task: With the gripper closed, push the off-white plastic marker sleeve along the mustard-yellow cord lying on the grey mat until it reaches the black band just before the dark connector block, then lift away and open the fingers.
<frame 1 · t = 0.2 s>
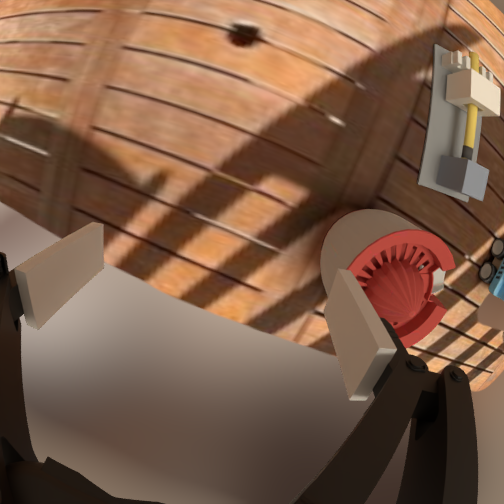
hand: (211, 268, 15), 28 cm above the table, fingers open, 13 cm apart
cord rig: (456, 121, 34), on the table
citrus juicer: (362, 245, 43), on the table
sleeve: (473, 94, 28), point 4 cm above the table, slide at 0.0 cm
toy excavator: (488, 273, 44), on the table
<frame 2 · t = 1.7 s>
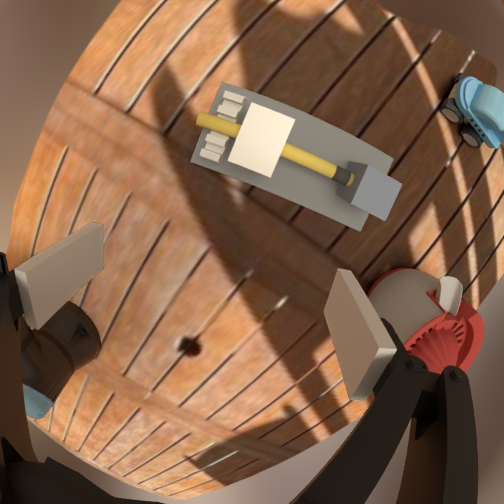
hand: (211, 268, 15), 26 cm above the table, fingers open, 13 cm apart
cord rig: (296, 155, 37), on the table
citrus juicer: (395, 292, 44), on the table
sleeve: (261, 140, 32), point 4 cm above the table, slide at 0.0 cm
toy excavator: (471, 122, 32), on the table
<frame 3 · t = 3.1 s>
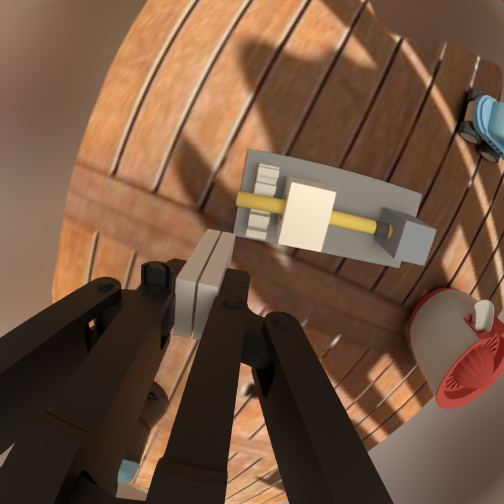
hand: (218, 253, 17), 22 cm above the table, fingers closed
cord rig: (333, 211, 38), on the table
citrus juicer: (434, 309, 44), on the table
sleeve: (303, 211, 34), point 4 cm above the table, slide at 0.0 cm
toy excavator: (486, 135, 32), on the table
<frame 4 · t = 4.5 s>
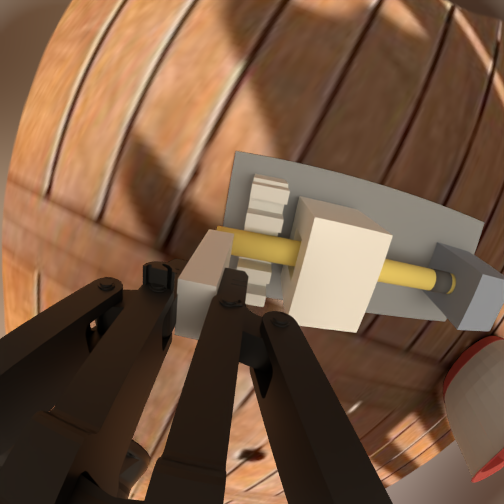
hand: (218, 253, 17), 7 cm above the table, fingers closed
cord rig: (368, 250, 24), on the table
citrus juicer: (473, 360, 30), on the table
sleeve: (327, 259, 20), point 5 cm above the table, slide at 0.0 cm
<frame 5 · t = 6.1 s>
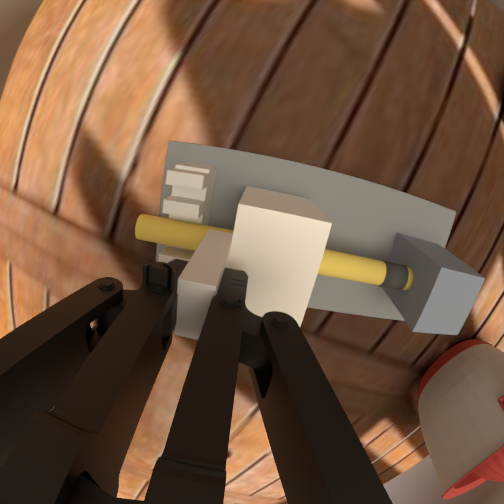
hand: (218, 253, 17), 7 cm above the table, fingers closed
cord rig: (314, 241, 23), on the table
citrus juicer: (453, 365, 29), on the table
sleeve: (270, 251, 19), point 4 cm above the table, slide at 1.2 cm, touching gripper
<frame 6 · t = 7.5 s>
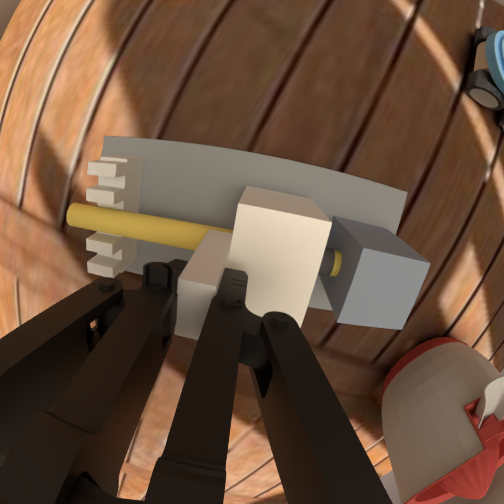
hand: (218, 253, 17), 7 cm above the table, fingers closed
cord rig: (241, 226, 23), on the table
citrus juicer: (423, 365, 29), on the table
sleeve: (271, 251, 19), point 5 cm above the table, slide at 7.3 cm, touching gripper
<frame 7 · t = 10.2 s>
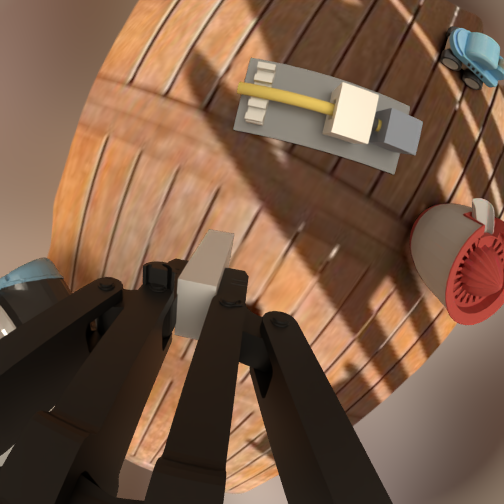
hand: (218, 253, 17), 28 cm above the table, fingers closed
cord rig: (326, 113, 38), on the table
citrus juicer: (434, 231, 43), on the table
sleeve: (349, 115, 34), point 4 cm above the table, slide at 7.4 cm
toy excavator: (470, 69, 31), on the table
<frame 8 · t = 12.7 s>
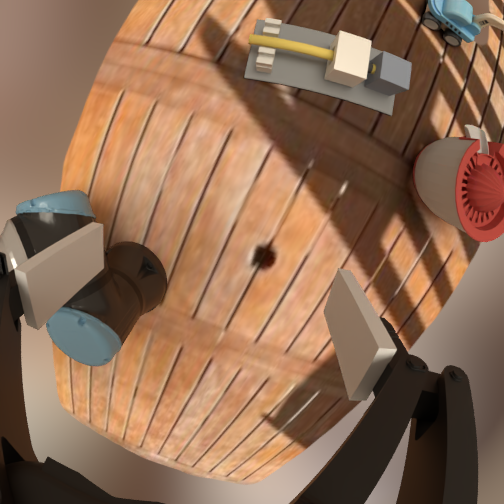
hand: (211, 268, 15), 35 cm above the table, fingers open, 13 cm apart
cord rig: (326, 63, 39), on the table
citrus juicer: (435, 170, 44), on the table
sleeve: (347, 60, 35), point 4 cm above the table, slide at 7.4 cm
toy excavator: (449, 30, 32), on the table
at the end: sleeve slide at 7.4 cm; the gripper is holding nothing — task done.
